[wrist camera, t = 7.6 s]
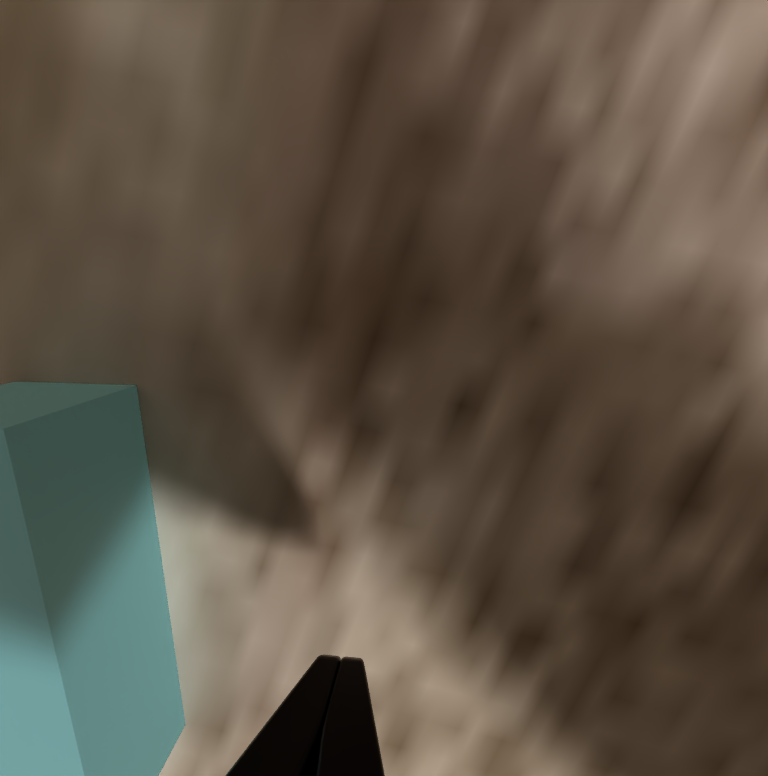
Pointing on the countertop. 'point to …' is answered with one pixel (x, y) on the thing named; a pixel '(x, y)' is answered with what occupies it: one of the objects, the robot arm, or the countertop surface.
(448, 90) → the countertop surface
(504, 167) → the countertop surface
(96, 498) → the t block
